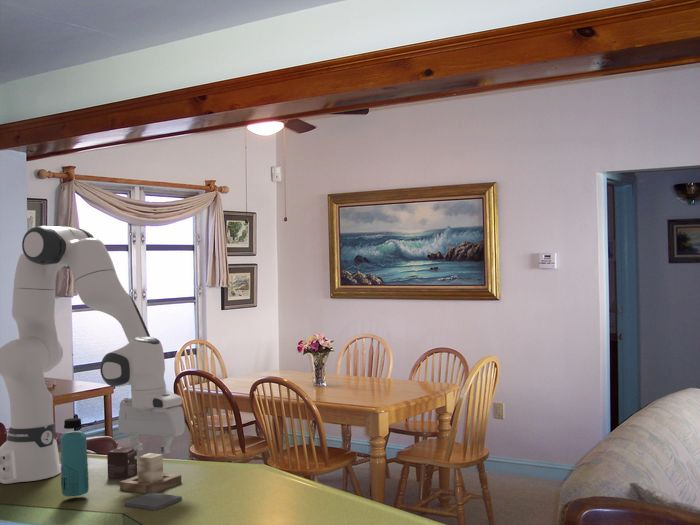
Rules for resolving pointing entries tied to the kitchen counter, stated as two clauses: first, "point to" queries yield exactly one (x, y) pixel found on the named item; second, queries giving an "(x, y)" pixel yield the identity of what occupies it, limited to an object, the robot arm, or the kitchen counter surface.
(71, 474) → the beverage bottle
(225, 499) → the kitchen counter surface
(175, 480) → the pocket holder
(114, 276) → the robot arm
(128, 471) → the box
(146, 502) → the mat
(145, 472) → the peg block
